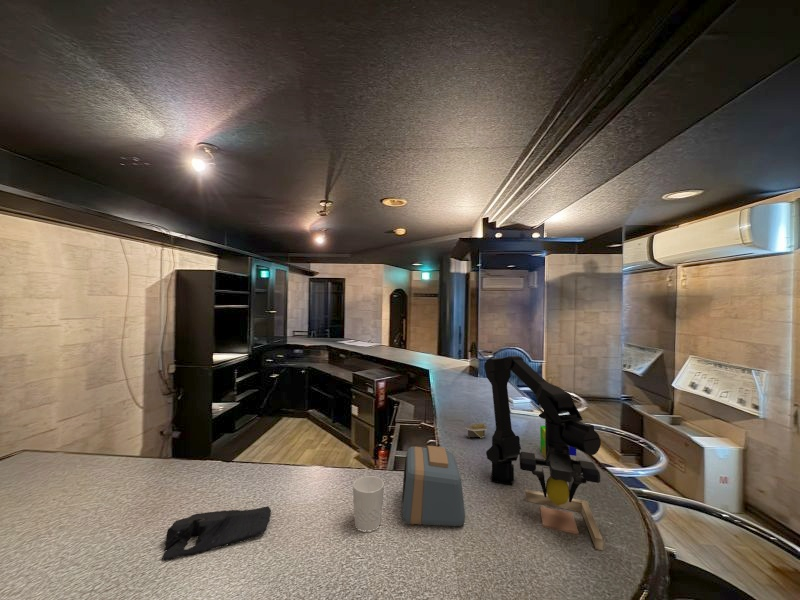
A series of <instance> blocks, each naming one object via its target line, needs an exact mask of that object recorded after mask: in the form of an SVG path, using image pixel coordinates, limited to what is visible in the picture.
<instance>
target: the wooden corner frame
mask: <svg viewBox="0 0 800 600" xmlns="http://www.w3.org/2000/svg"><path fill="white" fill-rule="evenodd" d="M525 501H526V502H530V503H534V504H539V505H544V506H549V507H544V506H540V507H539V509H540V517H541V522H542V527H543V528H548V529H552V530H556V531H560V532H564V533H565V532H566V533H570V534H574V535H579V530H578V526H577V523H576V520H575V517H574V514H573V512H574V511H575V512H579V513H581V514H582V517H583V519H584V522H585V525H586V528H587V529H588V530H587V531H588V533H589V535H590V538H591V541H592V543H593V546H594V549H595V550H599V551H604V540H603V539H604V538H603V536H602V534H601V532H600V530H599V527H598V525H597V523H596V520H595V518H594V514H593V512H592V510H591V509H590V506H589V503H588V502H587V500H583V499H578V498H573V499H572V501H571V502H569V498H568V501H567V502H566V503H565V504H562V505H559V506H557V505H556V504H555V503H554V502H552V501H551V500H550V499H549V497H548V495H547V492H546V497H545V496H544V493H543V492H542V491H541V492H540V491H535V490H530V489H525ZM550 507H553V508H550ZM554 508H560V509H564V510H559V509H554ZM565 510H569V511H573V512H569V511H565Z"/></svg>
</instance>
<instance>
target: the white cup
mask: <svg viewBox="0 0 800 600" xmlns="http://www.w3.org/2000/svg"><path fill="white" fill-rule="evenodd" d="M384 485H385V483H384V480H383V479H382V478H380V477H378V476H373V475H365V476H362V477H359V478H356V479H355V480H354V482H353V484H352V492H353V493H352V495H353V499H352V500H353V517H354V519H353V520H354V521H353V522H355V523H354V527H355V526H356V527H357V528H358V529H361V530H364V531H365V530H366V531H368V530H373V529H376V528H377V527H378V526H379V525H380V526H381V524H382V513H383V502H384V487H385V486H384ZM380 523H381V524H380ZM358 529H357V530H358ZM376 530H377V529H376Z"/></svg>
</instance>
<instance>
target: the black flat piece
mask: <svg viewBox="0 0 800 600" xmlns="http://www.w3.org/2000/svg"><path fill="white" fill-rule="evenodd" d="M271 513H272V510H271V508H270V507H269V506H262V507H259V508H253V509H243V510H241V509H232V510H217V511H208V512H200V513H195V514H192V515H191V516H188V517H184V518H181V519H178V520H176V521H174V522H173V523H172V525H171V526H170V527H169V528H167V531H166V539H165V543H164V546H165V547H164V550H163V551H164V552H163V555H162V557H161V560H163V561H171V559H172V560H173V559H174V558H179V557H187V556H188V557H189V556H193V555H197V554H202V553H205V552H206V551H207V552H209V551H211V550H212V549H215V548H216V547H217V548H221V547H222V546H223V547H225V546H230V545H233V544H237V543H241V542H240V541H243V542H244V540H245V541H247V539H248V540H250V539H249V538H251V539H252V538H256V537H258V536H260V535H263V534H264V533H265V532H266V530H267V528H268V525H269V522H270V521H271V519H270V518H271V517H272V514H271ZM257 535H258V536H257ZM255 536H256V537H255ZM191 538H196V539H195V545H194V546H192V547H189V548H188V549H185V548H186V546H187V545H188V544H189V543H188V542H189V541H190V540H191ZM227 544H228V545H227ZM220 546H221V547H220ZM165 550H167V551H165Z"/></svg>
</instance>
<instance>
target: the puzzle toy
mask: <svg viewBox="0 0 800 600" xmlns="http://www.w3.org/2000/svg"><path fill="white" fill-rule="evenodd" d="M539 428H540V429H539V430H540V432H539V433H540V452H541V454H542V453H543V454H542V456H543V457H544V458H545V425H540V427H539ZM569 455H570V458H571V459H573V460H576V461H577V449H575V448H573V447H571V446H569Z"/></svg>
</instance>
